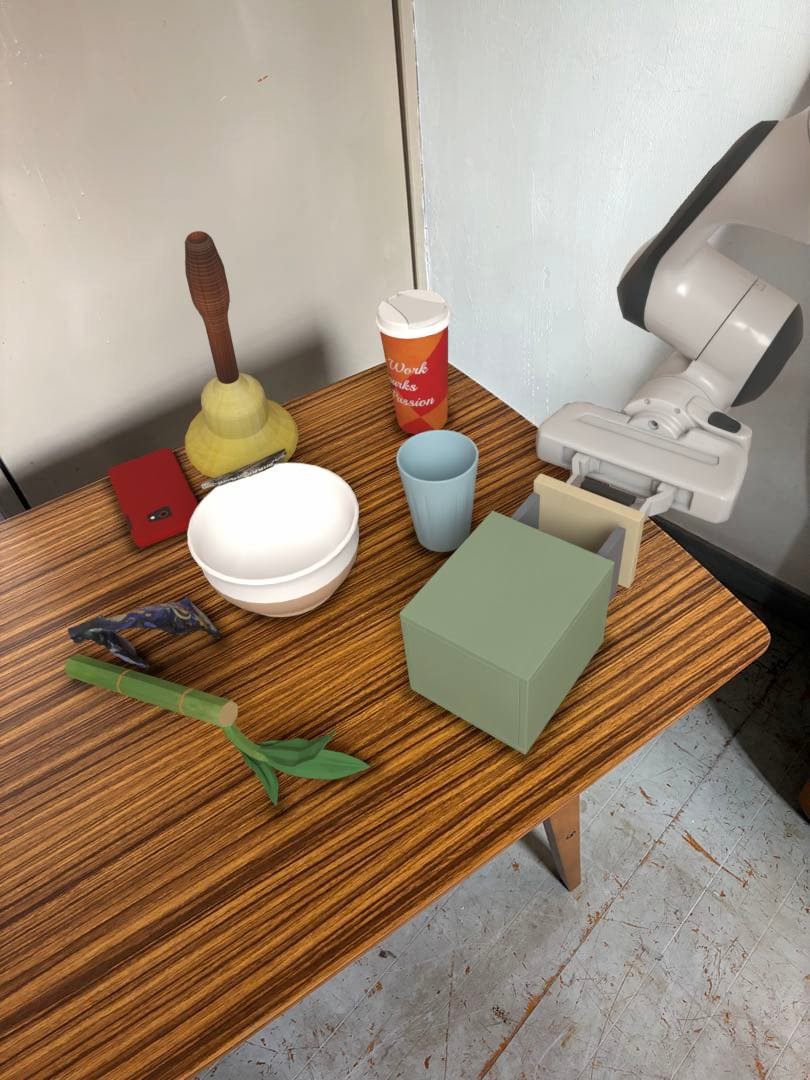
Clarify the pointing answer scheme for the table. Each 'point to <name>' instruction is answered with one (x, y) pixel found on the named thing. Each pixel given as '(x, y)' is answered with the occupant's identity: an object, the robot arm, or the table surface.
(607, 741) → the table surface
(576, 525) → the beige drawer
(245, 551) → the bowl
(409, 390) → the coffee cup
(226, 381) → the handbell
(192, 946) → the table surface
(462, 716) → the cabinet
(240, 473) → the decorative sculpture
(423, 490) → the cup
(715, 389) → the robot arm
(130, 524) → the cell phone
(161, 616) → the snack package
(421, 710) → the table surface
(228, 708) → the decorative plant
